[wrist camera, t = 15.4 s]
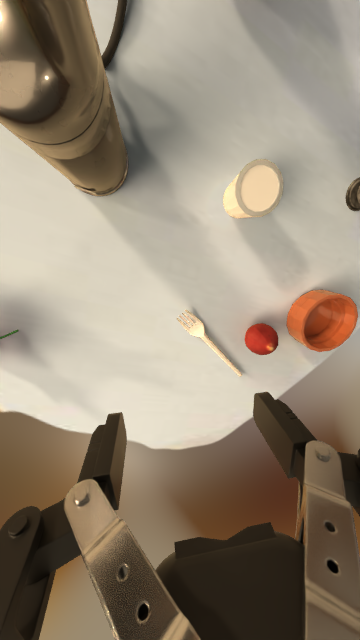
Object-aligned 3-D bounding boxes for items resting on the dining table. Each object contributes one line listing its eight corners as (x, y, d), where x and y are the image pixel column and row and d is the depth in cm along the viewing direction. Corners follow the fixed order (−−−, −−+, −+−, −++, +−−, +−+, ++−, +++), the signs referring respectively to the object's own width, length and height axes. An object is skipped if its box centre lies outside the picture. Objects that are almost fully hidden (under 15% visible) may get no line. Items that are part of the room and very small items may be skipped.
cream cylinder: (261, 216, 37) (285, 209, 30) (223, 227, 36) (239, 222, 30) (256, 170, 34) (281, 152, 28) (215, 181, 34) (231, 165, 27)
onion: (270, 324, 44) (296, 340, 36) (256, 348, 45) (278, 368, 37) (247, 314, 42) (268, 328, 35) (233, 339, 44) (251, 358, 36)
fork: (234, 379, 47) (237, 384, 45) (173, 316, 40) (174, 319, 39) (245, 369, 46) (249, 374, 45) (186, 305, 40) (187, 307, 38)
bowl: (288, 291, 42) (305, 297, 37) (340, 286, 43) (363, 291, 38) (282, 343, 45) (297, 354, 41) (330, 337, 47) (350, 347, 42)
